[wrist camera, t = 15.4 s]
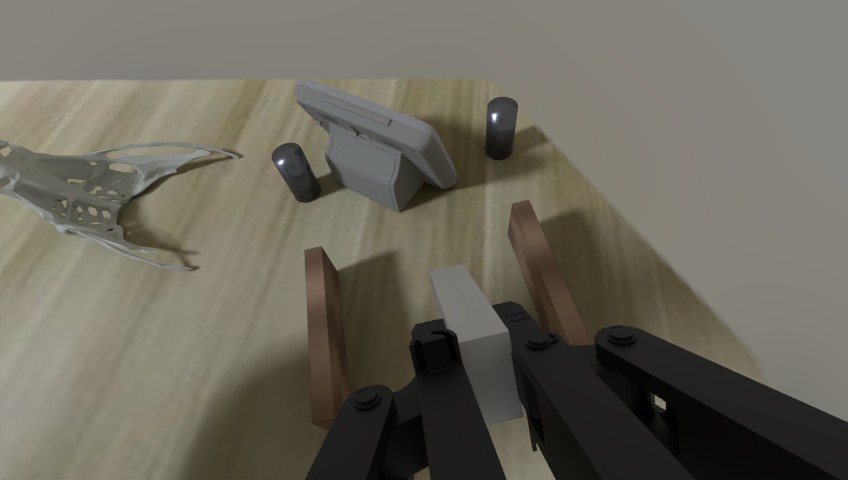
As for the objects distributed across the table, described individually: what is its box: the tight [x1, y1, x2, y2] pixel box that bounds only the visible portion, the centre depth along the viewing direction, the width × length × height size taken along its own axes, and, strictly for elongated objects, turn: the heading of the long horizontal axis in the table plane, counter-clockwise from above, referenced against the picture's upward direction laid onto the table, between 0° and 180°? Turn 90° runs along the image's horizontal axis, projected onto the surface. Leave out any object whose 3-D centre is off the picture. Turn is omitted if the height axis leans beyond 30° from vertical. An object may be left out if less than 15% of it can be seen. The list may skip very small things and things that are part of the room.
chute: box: [304, 200, 592, 430], centre depth 33 cm, size 14×20×5 cm
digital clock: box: [294, 80, 457, 212], centre depth 40 cm, size 16×9×11 cm, turn 46°
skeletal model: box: [0, 140, 240, 271], centre depth 41 cm, size 16×9×25 cm
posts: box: [272, 97, 518, 203], centre depth 42 cm, size 3×25×6 cm, turn 101°
